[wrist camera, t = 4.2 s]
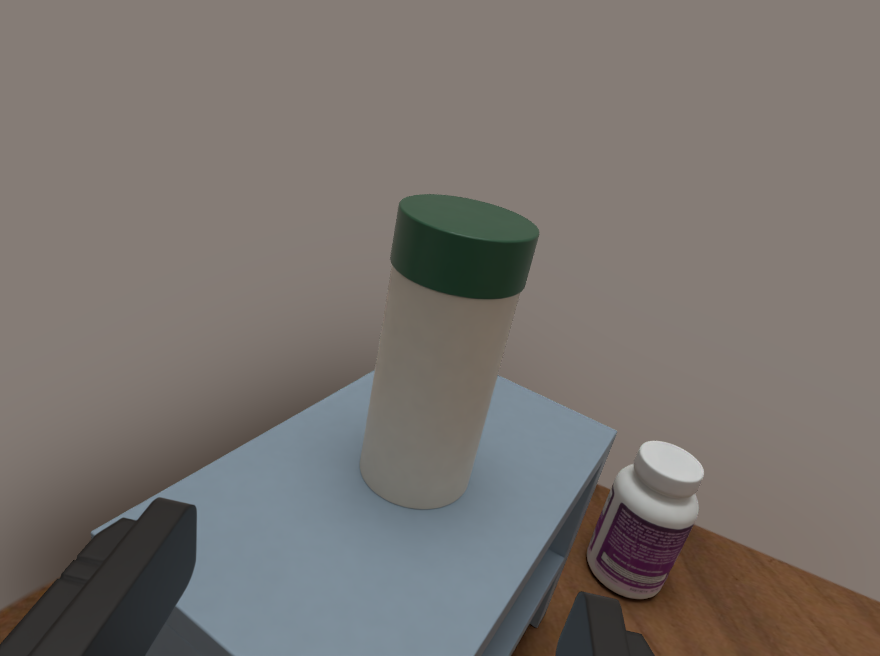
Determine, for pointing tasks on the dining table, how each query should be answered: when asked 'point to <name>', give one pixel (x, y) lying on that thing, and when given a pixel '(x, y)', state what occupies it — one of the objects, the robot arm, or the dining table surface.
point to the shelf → (380, 538)
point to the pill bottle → (646, 520)
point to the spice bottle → (441, 344)
